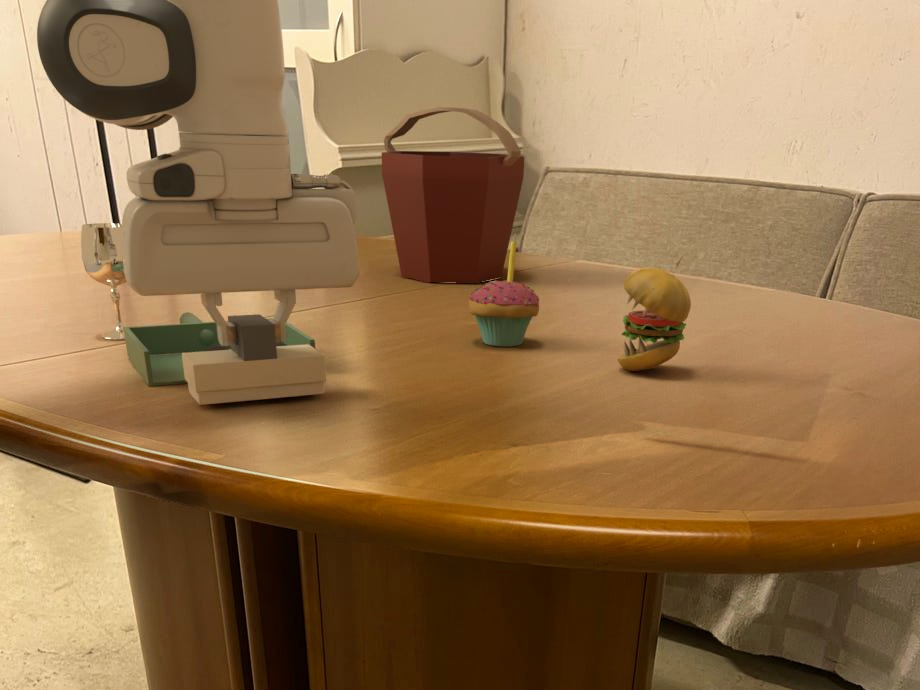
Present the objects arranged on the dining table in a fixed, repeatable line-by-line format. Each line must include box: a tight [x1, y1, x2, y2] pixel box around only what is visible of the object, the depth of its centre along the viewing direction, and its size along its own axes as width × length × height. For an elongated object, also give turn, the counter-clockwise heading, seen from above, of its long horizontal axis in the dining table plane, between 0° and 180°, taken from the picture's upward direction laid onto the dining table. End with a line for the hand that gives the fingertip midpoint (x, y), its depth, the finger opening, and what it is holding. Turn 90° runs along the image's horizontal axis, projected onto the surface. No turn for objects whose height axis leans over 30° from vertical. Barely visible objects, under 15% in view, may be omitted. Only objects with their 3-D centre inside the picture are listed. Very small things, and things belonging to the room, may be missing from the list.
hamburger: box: [617, 254, 692, 372], centre depth 98 cm, size 8×7×12 cm
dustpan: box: [123, 311, 316, 387], centre depth 101 cm, size 22×17×3 cm
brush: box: [182, 313, 327, 406], centre depth 85 cm, size 5×12×7 cm, turn 117°
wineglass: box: [80, 222, 127, 341], centre depth 106 cm, size 6×6×12 cm
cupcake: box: [468, 233, 540, 348], centre depth 109 cm, size 9×8×12 cm
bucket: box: [381, 106, 525, 283], centre depth 152 cm, size 24×22×25 cm
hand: (252, 342), depth 84 cm, fingers closed on brush, 3 cm apart
